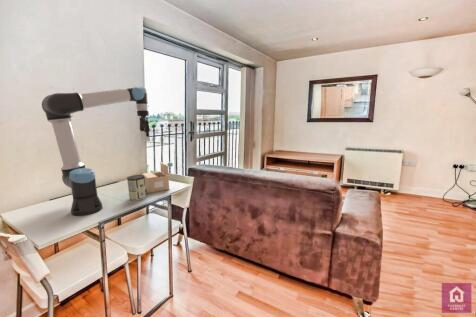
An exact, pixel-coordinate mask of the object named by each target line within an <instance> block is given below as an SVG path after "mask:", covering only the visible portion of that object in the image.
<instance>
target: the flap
mask: <svg viewBox="0 0 476 317" xmlns="http://www.w3.org/2000/svg"><path fill="white" fill-rule="evenodd" d="M173 164H174V163H173V162H171V161H169V162H168V163H164V162H162V161H160V172H162V173H164V174H166V175H167V176H169V173H170V172H169V168H172V167H173Z"/></svg>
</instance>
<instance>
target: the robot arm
mask: <svg viewBox="0 0 476 317" xmlns="http://www.w3.org/2000/svg"><path fill="white" fill-rule="evenodd" d="M147 90H148V89H147V88H146V87H144V86H134V87H128V88H127V87H126V88H121V89H120V88H118V89H113V90H112V89H111V90H105V91H104V90H103V91H96V92H87V93H79V92H65V93H64V92H63V93H62V92H56V93H52V94H49V95H47V96H45V97H44V98H43V100H42V102H41V108H42V111H43V112H44V113H45V117H46V120H47V122H49V123H51V126H52V128H53V131H54V132H53V133H54V136H55V140H56V143H57V147H58V151H59V155H60V157H61V161H62V167H61V168H60V171H61V174H62V176H61V177H62V178H61V180H62V183H63V184H64V185H65V186H67V187H68V188H70V189H71V195H72V203H71V207H70V213H71V214H70V215H72V216H75V217H76V216H77V217H79V216H80V217H81V216H86V215H91V214H94V213H97V212H99V211H101V210H103V209H104V208H103V203H102V201H101V199H100V197H99V195H98V190H97V189H98V188H97V182H96V173H95V171H94V170H93V169H92V168H90V167H89V168H88V167H87V168H86V165H85V163H84V162H82V161H81V158H80V153H79V150H78V145H77V142H76V137H75V134H74V130H73V126H72V123H71V121H72V120H73V118H74V117H73V114H75V113H78V112H83V111H84V110H85V109H90V108H95V107H101V106H108V105H109V106H110V105H115V104H119V103H120V104H121V103H127V102H135V103H136V104H135V107H136V110H137V111H136V115H137V117H139V131H140V139H141V141H145V142H151V138H150V136H151V135H150V131H151V128H150V125H149V119H148V118H149V116H150V113H149V103H148V102H149V101H148V92H147Z"/></svg>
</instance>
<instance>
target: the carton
mask: <svg viewBox="0 0 476 317" xmlns="http://www.w3.org/2000/svg"><path fill="white" fill-rule="evenodd" d="M141 175H144V176H145V177H144V178H145V188H146V193H148V194H153V193H159V192H164V191H163V190H165V191H169V190H170V183H169V182H170V180H169V175H166V174H165V173H163V172H162V171H158V172H157V171H156V172H152V171H150V172H144V173H142V174H141Z"/></svg>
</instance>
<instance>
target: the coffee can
mask: <svg viewBox="0 0 476 317" xmlns="http://www.w3.org/2000/svg"><path fill="white" fill-rule="evenodd" d="M144 177H145V176H144V175H142V174H134V175H130V176H128V177H126V180H127V188H128V195H129V200H130V201H141V200H144V199H146V198H147V191H146V188H145V178H144Z"/></svg>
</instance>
